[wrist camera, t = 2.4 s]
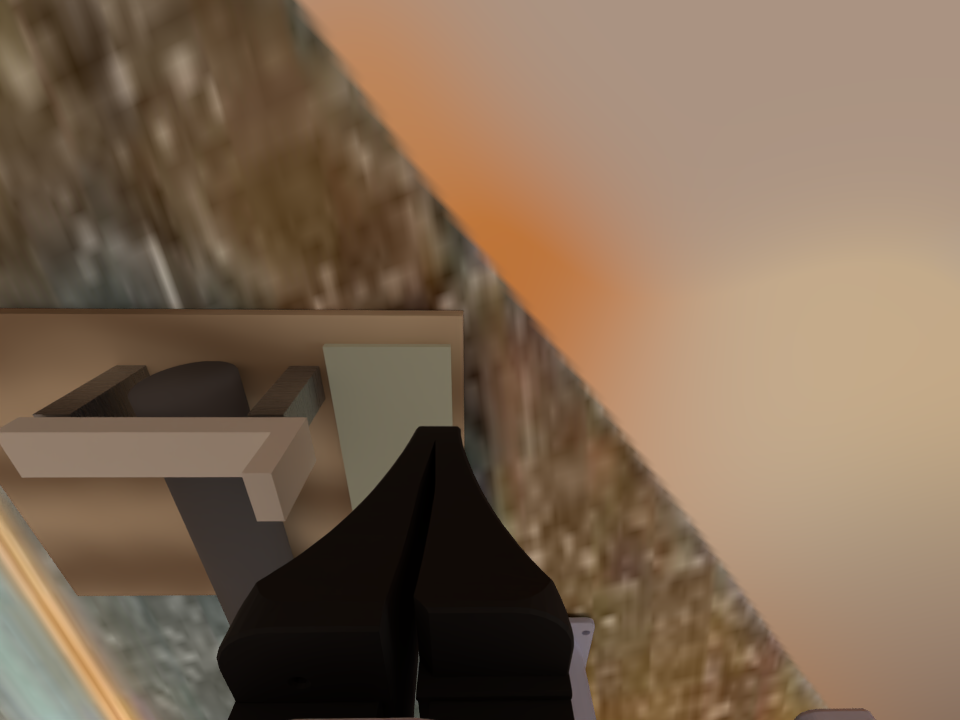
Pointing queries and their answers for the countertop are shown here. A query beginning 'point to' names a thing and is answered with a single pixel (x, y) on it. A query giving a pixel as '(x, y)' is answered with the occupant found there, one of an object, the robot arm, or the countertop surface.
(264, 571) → the dark grey rod
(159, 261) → the countertop surface
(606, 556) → the countertop surface
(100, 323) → the board
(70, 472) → the beige l-shaped block
